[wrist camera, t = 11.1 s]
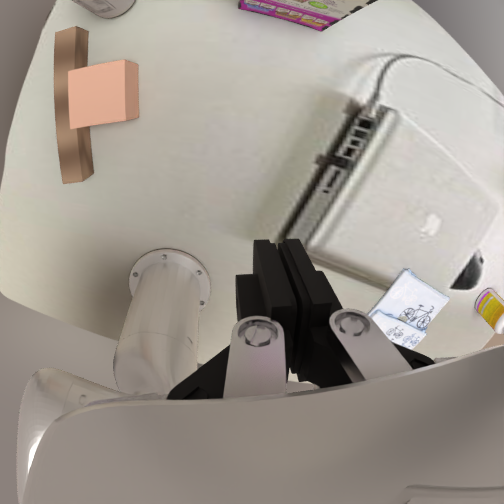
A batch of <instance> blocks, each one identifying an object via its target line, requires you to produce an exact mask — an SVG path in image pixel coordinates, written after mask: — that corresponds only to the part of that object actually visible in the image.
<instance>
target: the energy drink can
mask: <svg viewBox="0 0 504 504" xmlns="http://www.w3.org/2000/svg"><path fill="white" fill-rule="evenodd" d="M72 1H74V2H75V3H77V4H79V5H81V6H82V7H84V8H86V9H88V10H89V11H91V12H93V13H95V14H96V15H98V16H100V17H103V18H112V17H116V16H119V15H121V14H122V13H124V12H125V11H127V10H128V9H129V8H130V7H131V6H132V4H133V3H134V1H135V0H72Z"/></svg>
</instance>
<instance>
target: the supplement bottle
mask: <svg viewBox="0 0 504 504" xmlns="http://www.w3.org/2000/svg"><path fill="white" fill-rule="evenodd" d="M475 308H476V310H477V311H478V313H479V314H480V315H481V316H482V317H483V318H484V319H485V320H486V322H487V323H488V324H489V325H490V326H491V327H492V328H493V329H494V331H495V332H496V333H498V334H502V333H504V300H503V299H502V298H501V297H500V296H499V295H498V294H497V293H496V292H495V291H494V290H493V289H486V290H485V291H483V292H482V293H481V295H480V296H479V297H478V299H477V301H476V304H475Z"/></svg>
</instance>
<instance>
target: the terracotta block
mask: <svg viewBox="0 0 504 504" xmlns="http://www.w3.org/2000/svg"><path fill="white" fill-rule="evenodd" d="M68 98H69V119H70V129H75V128H80V127H86V126H92V125H98V124H105V123H112V122H119V121H127V120H130V119H134V118H138V117H139V101H138V64H135V63H133V62H130V61H127V60H119V61H113V62H108V63H102V64H97V65H93V66H88V67H84V68H79V69H75V70H71V71H68Z"/></svg>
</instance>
